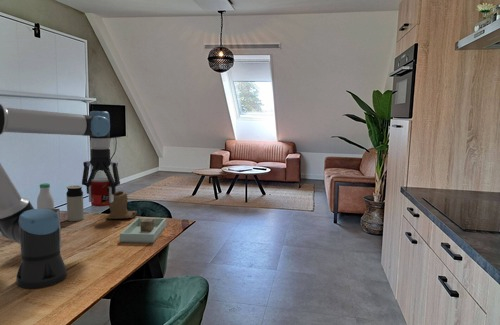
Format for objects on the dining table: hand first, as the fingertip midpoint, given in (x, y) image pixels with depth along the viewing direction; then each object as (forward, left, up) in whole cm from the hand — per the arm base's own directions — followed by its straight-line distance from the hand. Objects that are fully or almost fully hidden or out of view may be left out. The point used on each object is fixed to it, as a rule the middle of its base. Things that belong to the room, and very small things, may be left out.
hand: (101, 201), depth 158 cm
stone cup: (+43, +7, -20) cm, 48 cm away
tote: (+18, -13, -20) cm, 30 cm away
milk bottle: (+34, +43, -20) cm, 58 cm away
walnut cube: (+22, -13, -19) cm, 32 cm away
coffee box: (-3, +22, -20) cm, 30 cm away
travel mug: (+39, +30, -20) cm, 53 cm away
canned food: (0, 0, -2) cm, 2 cm away
